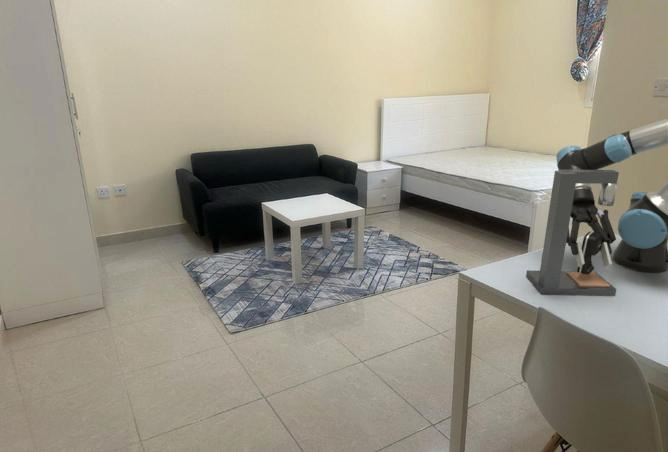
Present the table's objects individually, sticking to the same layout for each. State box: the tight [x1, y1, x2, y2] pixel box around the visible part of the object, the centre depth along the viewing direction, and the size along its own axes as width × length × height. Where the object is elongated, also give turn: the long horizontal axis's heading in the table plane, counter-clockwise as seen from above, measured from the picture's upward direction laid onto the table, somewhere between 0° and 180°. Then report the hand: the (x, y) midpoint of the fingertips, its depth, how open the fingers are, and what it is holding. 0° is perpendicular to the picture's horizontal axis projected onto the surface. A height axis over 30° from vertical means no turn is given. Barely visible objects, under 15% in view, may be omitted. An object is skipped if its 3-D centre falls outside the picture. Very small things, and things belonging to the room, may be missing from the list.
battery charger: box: [576, 231, 603, 275], centre depth 129 cm, size 7×4×11 cm, turn 138°
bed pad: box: [567, 271, 610, 287], centre depth 131 cm, size 8×9×1 cm
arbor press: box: [525, 169, 620, 297], centre depth 127 cm, size 20×12×34 cm, turn 87°
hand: (594, 265), depth 127 cm, fingers closed on battery charger, 6 cm apart
